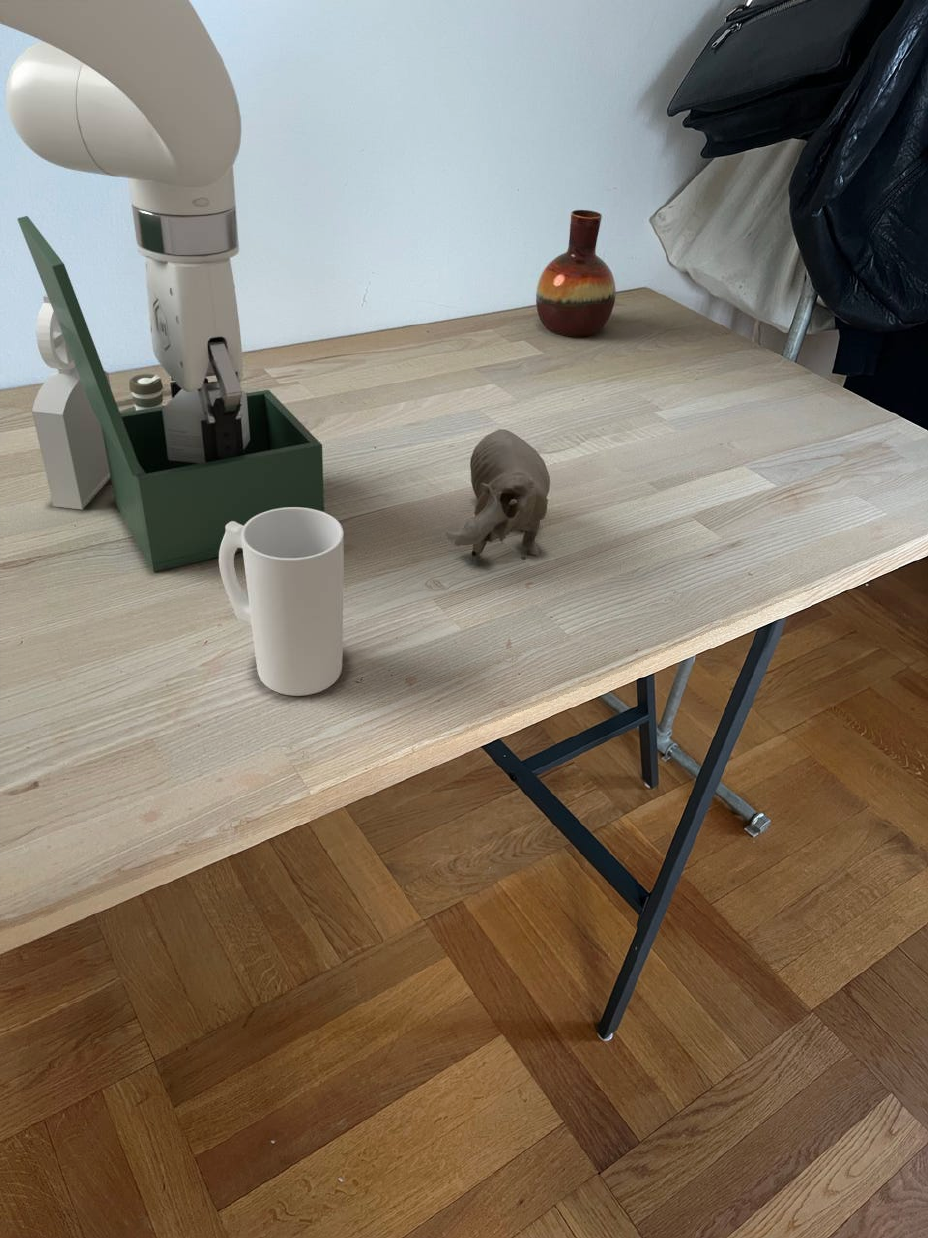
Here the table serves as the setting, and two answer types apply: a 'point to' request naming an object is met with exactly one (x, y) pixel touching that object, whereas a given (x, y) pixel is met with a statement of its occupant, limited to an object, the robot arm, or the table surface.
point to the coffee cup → (145, 392)
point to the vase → (577, 283)
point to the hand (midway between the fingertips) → (208, 441)
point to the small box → (192, 425)
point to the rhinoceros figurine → (505, 493)
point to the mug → (290, 595)
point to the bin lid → (79, 341)
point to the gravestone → (67, 422)
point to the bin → (212, 482)
